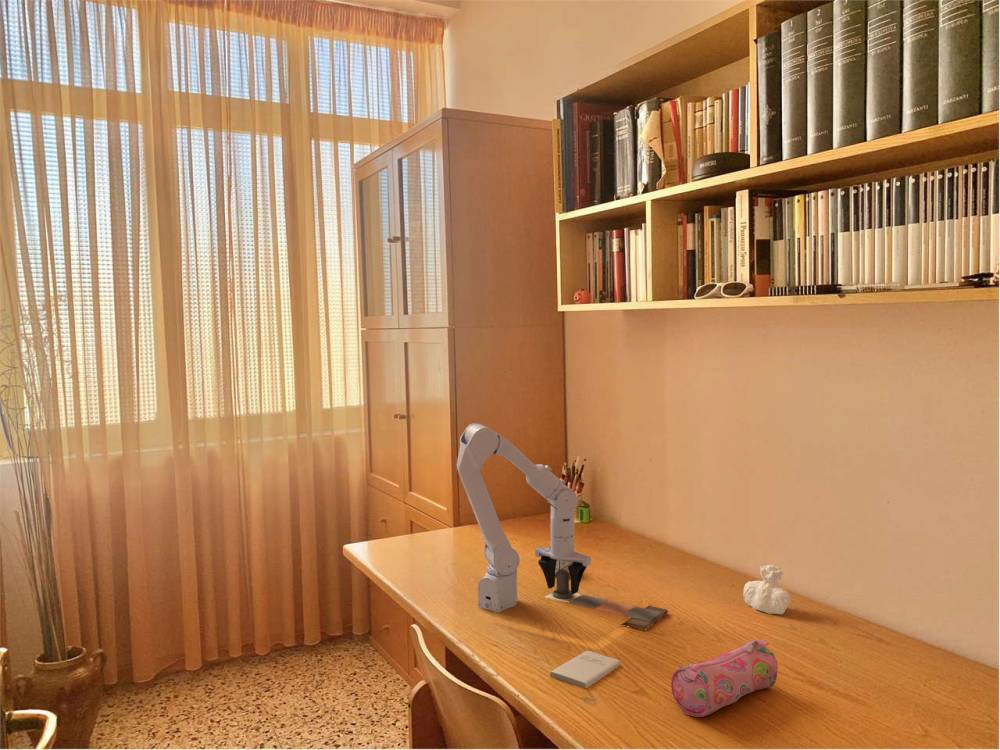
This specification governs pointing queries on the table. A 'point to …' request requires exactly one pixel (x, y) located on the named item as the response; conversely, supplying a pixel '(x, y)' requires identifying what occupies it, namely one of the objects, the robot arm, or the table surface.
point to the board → (619, 610)
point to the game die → (562, 566)
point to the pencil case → (724, 678)
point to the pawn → (562, 585)
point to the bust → (767, 592)
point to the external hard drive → (585, 669)
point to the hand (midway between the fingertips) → (562, 589)
